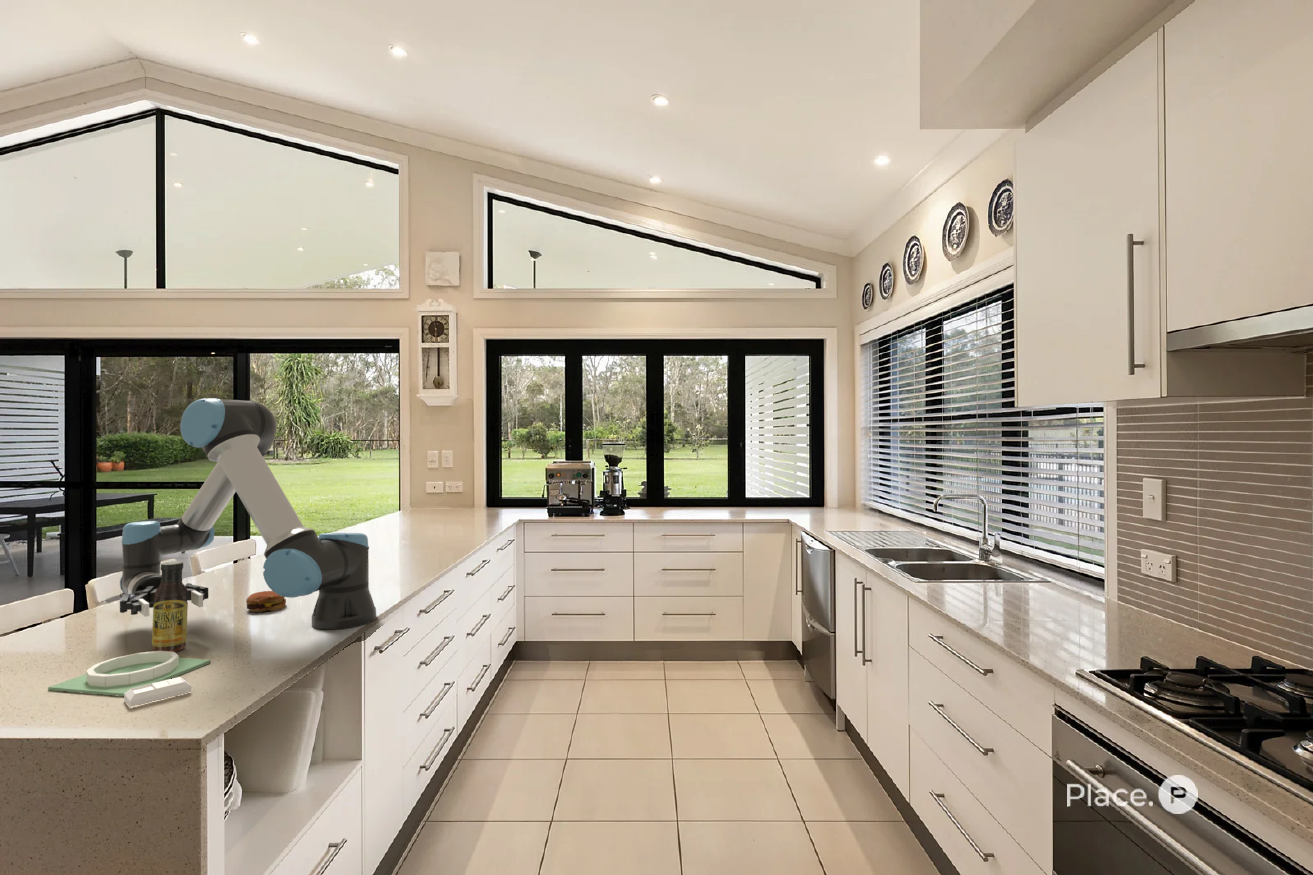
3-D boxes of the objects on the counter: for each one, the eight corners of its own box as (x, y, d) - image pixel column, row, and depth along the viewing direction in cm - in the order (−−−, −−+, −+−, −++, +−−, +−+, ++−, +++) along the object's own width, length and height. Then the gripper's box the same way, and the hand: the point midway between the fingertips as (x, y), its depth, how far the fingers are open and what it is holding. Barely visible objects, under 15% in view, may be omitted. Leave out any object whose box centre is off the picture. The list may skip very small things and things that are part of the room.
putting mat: (210, 662, 136) (210, 650, 136) (125, 697, 118) (125, 683, 118) (140, 657, 139) (140, 645, 139) (48, 690, 121) (48, 676, 121)
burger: (267, 603, 185) (267, 587, 185) (293, 605, 182) (293, 589, 182) (236, 612, 175) (236, 595, 175) (263, 615, 173) (263, 598, 172)
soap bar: (191, 695, 120) (191, 681, 120) (129, 711, 113) (129, 696, 113) (184, 688, 123) (184, 674, 123) (124, 703, 116) (124, 689, 116)
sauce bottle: (149, 657, 139) (147, 567, 139) (155, 648, 145) (154, 561, 145) (185, 652, 143) (184, 563, 142) (190, 643, 148) (189, 558, 148)
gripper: (204, 596, 164) (231, 611, 149) (92, 614, 147) (110, 634, 132) (203, 567, 164) (231, 579, 149) (91, 582, 147) (110, 598, 132)
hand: (174, 605), depth 141 cm, fingers open, 9 cm apart
